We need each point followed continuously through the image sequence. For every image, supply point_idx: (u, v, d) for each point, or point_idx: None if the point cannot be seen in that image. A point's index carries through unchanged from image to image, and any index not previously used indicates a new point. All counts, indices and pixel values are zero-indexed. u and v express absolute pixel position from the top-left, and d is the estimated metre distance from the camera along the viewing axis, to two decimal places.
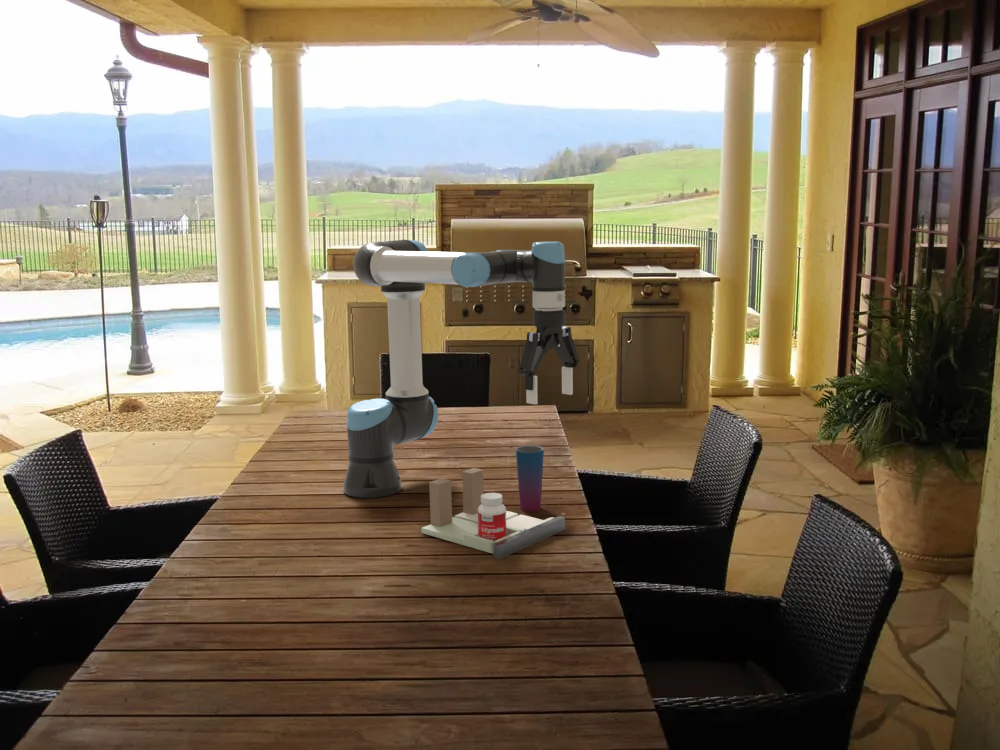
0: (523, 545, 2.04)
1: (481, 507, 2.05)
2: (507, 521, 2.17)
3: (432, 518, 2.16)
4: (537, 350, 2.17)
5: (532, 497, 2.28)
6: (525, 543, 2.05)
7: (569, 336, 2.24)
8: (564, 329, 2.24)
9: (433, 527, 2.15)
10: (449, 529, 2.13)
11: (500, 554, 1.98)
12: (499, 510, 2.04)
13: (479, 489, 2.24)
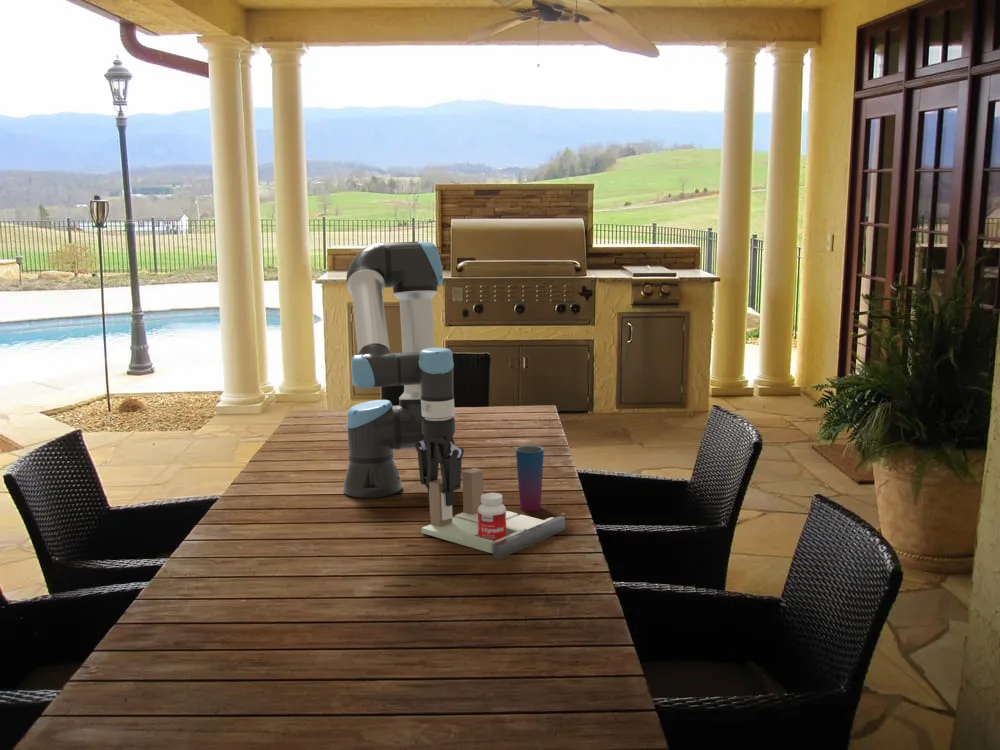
0: (523, 545, 2.04)
1: (481, 507, 2.05)
2: (507, 521, 2.17)
3: (432, 518, 2.16)
4: None
5: (532, 497, 2.28)
6: (525, 543, 2.05)
7: (452, 458, 2.10)
8: (454, 449, 2.10)
9: (433, 527, 2.15)
10: (449, 529, 2.13)
11: (500, 554, 1.98)
12: (499, 510, 2.04)
13: (479, 489, 2.24)
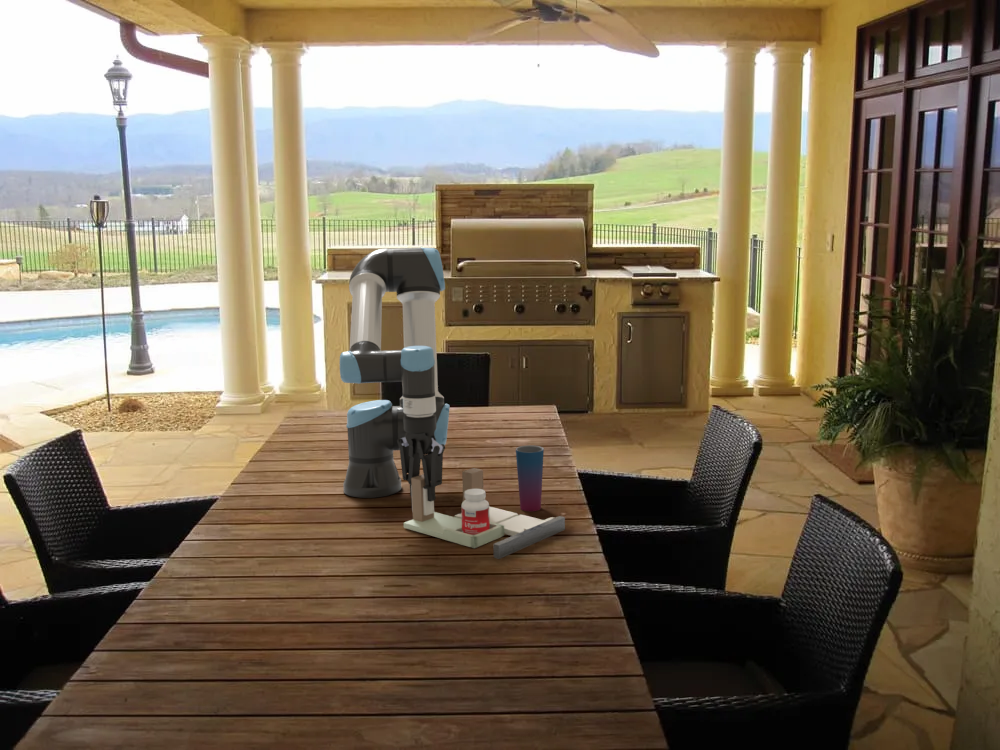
0: (523, 545, 2.04)
1: (464, 503, 2.08)
2: (507, 521, 2.17)
3: (414, 513, 2.20)
4: None
5: (532, 497, 2.28)
6: (525, 543, 2.05)
7: (433, 454, 2.14)
8: (435, 445, 2.14)
9: (415, 522, 2.18)
10: (430, 524, 2.17)
11: (500, 554, 1.98)
12: (482, 505, 2.07)
13: None
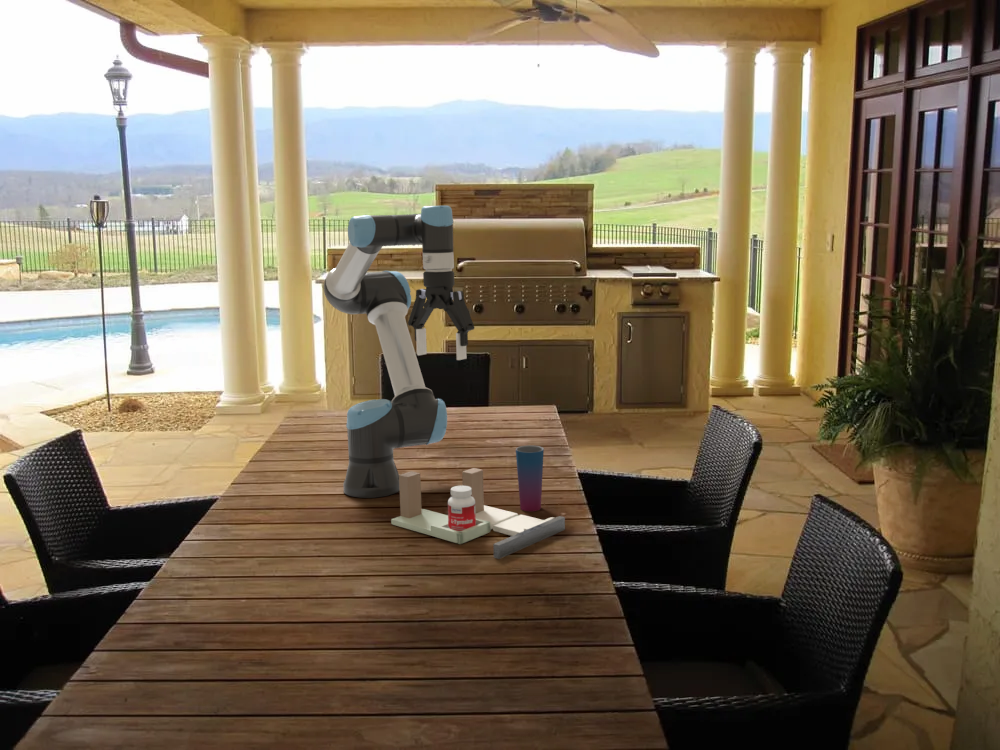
0: (523, 545, 2.04)
1: (451, 499, 2.11)
2: (507, 521, 2.17)
3: (402, 509, 2.22)
4: None
5: (532, 497, 2.28)
6: (525, 543, 2.05)
7: (454, 301, 2.25)
8: None
9: (403, 518, 2.21)
10: (418, 520, 2.19)
11: (500, 554, 1.98)
12: (468, 502, 2.09)
13: (479, 489, 2.24)
